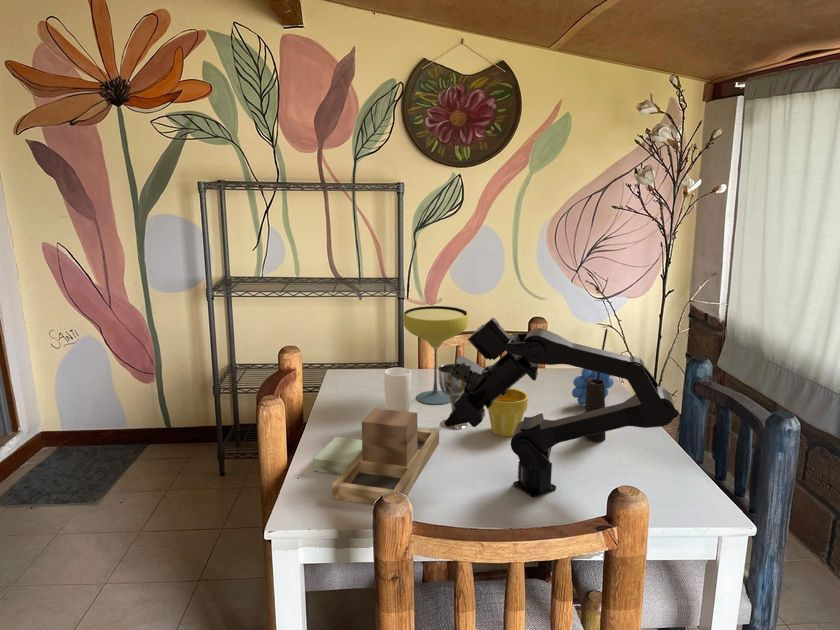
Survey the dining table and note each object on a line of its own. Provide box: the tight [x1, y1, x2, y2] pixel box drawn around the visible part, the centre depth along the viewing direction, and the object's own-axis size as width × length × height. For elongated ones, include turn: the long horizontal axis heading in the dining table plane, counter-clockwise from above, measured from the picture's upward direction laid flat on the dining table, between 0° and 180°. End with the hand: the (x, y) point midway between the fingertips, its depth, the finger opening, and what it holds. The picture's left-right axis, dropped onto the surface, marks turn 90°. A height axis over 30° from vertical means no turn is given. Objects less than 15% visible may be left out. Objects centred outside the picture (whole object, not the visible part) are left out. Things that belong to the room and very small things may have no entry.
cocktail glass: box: [402, 305, 469, 406], centre depth 181 cm, size 18×18×25 cm
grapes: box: [571, 368, 614, 406], centre depth 178 cm, size 12×7×12 cm, turn 97°
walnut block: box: [361, 407, 418, 466], centre depth 140 cm, size 10×8×9 cm
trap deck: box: [313, 428, 440, 506], centre depth 143 cm, size 23×32×3 cm
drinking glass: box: [383, 367, 412, 412], centre depth 162 cm, size 7×7×15 cm
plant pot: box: [485, 387, 529, 438], centre depth 160 cm, size 10×10×10 cm
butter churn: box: [584, 328, 608, 443], centre depth 155 cm, size 9×10×28 cm
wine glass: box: [437, 363, 468, 431], centre depth 164 cm, size 8×8×15 cm
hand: (448, 420), depth 136 cm, fingers open, 4 cm apart
